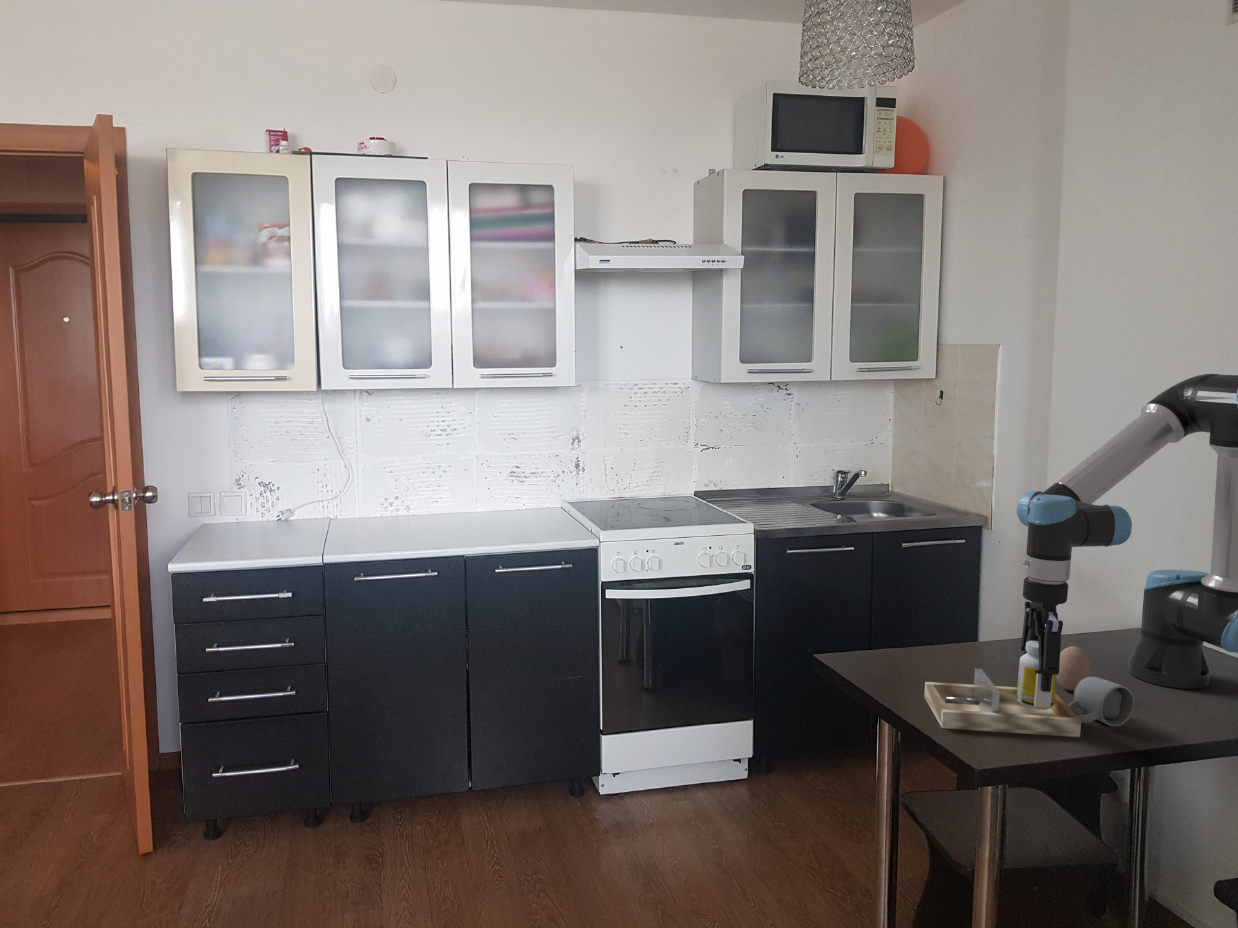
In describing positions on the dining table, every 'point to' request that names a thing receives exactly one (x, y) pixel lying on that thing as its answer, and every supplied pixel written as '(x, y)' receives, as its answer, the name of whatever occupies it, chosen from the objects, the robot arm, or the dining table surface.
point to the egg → (1073, 667)
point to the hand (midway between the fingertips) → (1035, 699)
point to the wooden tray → (999, 712)
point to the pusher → (980, 694)
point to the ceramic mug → (1102, 701)
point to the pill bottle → (1030, 677)
